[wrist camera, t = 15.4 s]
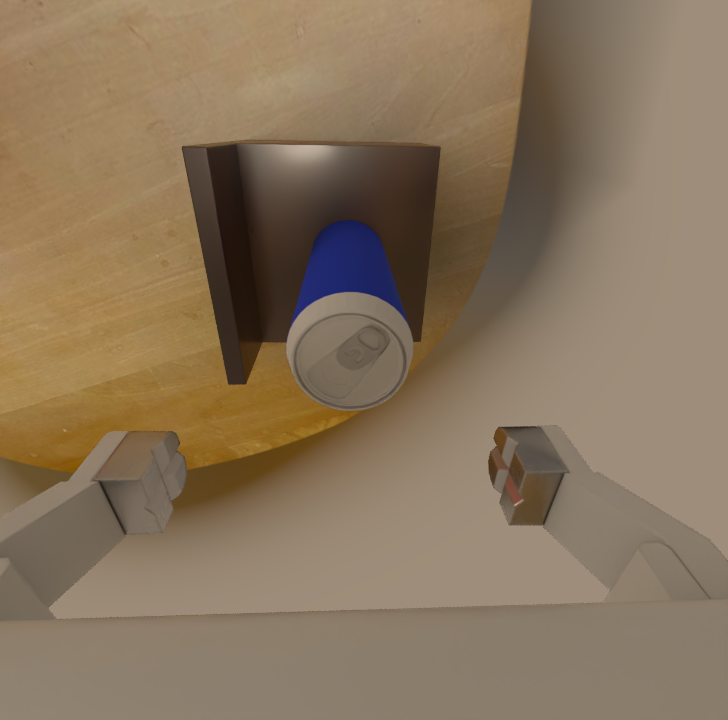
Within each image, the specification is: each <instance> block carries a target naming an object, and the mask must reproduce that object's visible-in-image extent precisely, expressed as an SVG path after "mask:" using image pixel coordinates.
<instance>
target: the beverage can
mask: <svg viewBox="0 0 728 720" xmlns="http://www.w3.org/2000/svg"><path fill="white" fill-rule="evenodd" d="M286 349H287V358H288V361H289V365H290V367H291V370H292V373H293V375H294V378H295V380H296V382H297V383H298V385H299V386H300V388H301V389H302V390H303V391H304V392H305V393H306V394H307V395H308V396H309V397H311V398H312V399H313V400H315V401H316V402H318V403H320V404H322V405H324V406H327V407H329V408H333V409H337V410H343V411H358V410H365V409H369V408H372V407H375V406H377V405H380V404H382V403H383V402H385V401H387V400H388V399H389V398H391V397H392V396H393V395H394V394H395V393H396V392H397V391H398V390H399V389H400V387H401V386H402V385H403V383H404V381H405V379H406V377H407V374H408V370H409V367H410V363H411V360H412V356H413V338H412V334H411V330H410V327H409V324H408V321H407V318H406V315H405V312H404V309H403V306H402V303H401V300H400V297H399V294H398V291H397V288H396V284H395V281H394V278H393V275H392V272H391V269H390V266H389V263H388V260H387V257H386V254H385V251H384V248H383V245H382V242H381V240H380V238H379V237H378V235H377V234H376V233H375V232H374V231H373V230H372V229H371V228H370V227H368V226H366V225H365V224H363V223H360V222H357V221H352V220H344V221H338V222H335V223H333V224H331V225H329V226H327V227H326V228H325V229H323V230H322V231H321V232H320V234H319V235H318V236H317V238H316V240H315V242H314V244H313V248H312V251H311V255H310V258H309V262H308V265H307V269H306V273H305V276H304V280H303V283H302V287H301V291H300V294H299V298H298V301H297V305H296V309H295V312H294V316H293V319H292V323H291V327H290V330H289V334H288V337H287V346H286Z"/></svg>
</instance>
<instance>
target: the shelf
mask: <svg viewBox="0 0 728 720" xmlns="http://www.w3.org/2000/svg"><path fill="white" fill-rule="evenodd" d="M440 148H441V147H440V146H434V145H428V144H422V143H394V142H337V141H281V140H240V141H230V142H219V143H210V144H200V145H190V146H182V151H183V156H184V161H185V166H186V171H187V176H188V181H189V187H190V192H191V197H192V202H193V207H194V212H195V217H196V222H197V227H198V232H199V237H200V243H201V248H202V253H203V258H204V263H205V268H206V273H207V278H208V283H209V288H210V294H211V299H212V304H213V309H214V314H215V319H216V324H217V329H218V334H219V339H220V344H221V350H222V355H223V360H224V365H225V370H226V375H227V380H228V384H229V385H236V384H246V383H247V380H248V378H249V375H250V373H251V370H252V368H253V365H254V362H255V360H256V357H257V355H258V352H259V350H260V347H261V345H262V342H287V337H288V334H289V330H290V327H291V323H292V319H293V316H294V312H295V309H296V305H297V301H298V298H299V294H300V291H301V287H302V283H303V280H304V276H305V273H306V269H307V265H308V262H309V258H310V255H311V251H312V248H313V244H314V242H315V240H316V238H317V236H318V235H319V234H320V232H321V231H322V230H323V229H325V228H326V227H327V226H329V225H331V224H333V223H335V222H338V221H344V220H352V221H357V222H360V223H363V224H365V225H366V226H368V227H370V228H371V229H372V230H373V231H374V232H375V233H376V234H377V235H378V237H379V238H380V240H381V242H382V245H383V248H384V251H385V254H386V257H387V260H388V263H389V266H390V269H391V272H392V275H393V278H394V281H395V284H396V288H397V291H398V294H399V297H400V300H401V303H402V306H403V309H404V312H405V315H406V318H407V321H408V324H409V327H410V330H411V334H412V338H413V342H420V341H421V333H422V323H423V314H424V304H425V294H426V284H427V275H428V265H429V255H430V246H431V236H432V226H433V216H434V207H435V197H436V187H437V178H438V168H439V158H440Z"/></svg>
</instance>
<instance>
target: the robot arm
mask: <svg viewBox="0 0 728 720" xmlns="http://www.w3.org/2000/svg"><path fill="white" fill-rule="evenodd" d="M494 441H495V443H496V445H497V446H496V447H495V448H494V449H493V450H492V451H491V452H490V456H489V461H488V462H489V463H488V464H489V474H490V479H491V482H492V485H493V487H494V488H495V489H496V490H497V491H498V492H500V493H501V494H502V495H501V499H500V505H501V507H502V510H503V512H504V515H505V517H506V519H507V522H508V524H509V525H544V526H543V527H544V528H545V529H546V530H547V531H548V532H549V533H550V534H551V535H552V536H553V537H554V538H555V539H556V540H557V541H558V542H559V543H560V544H561V545H563V547H565V548H566V549H567V550H568V551H569V552H570V553H571V554H572V555H573V556H574V557H575V558H576V559H577V560H578V561H579V562H580V563H582V565H584V566H585V567H586V568H587V569H588V570H589V571H590V572H591V573H592V574H593V575H594V576H595V577H596V578H597V579H598V580H599V581H600V582H601V583H603V584H604V585H605V586H606V587H607V588H608V589H609V590H610V592H609V594H608V595H607V597H606V598H605V600H604V602H603V603H572V604H571V603H570V604H540V605H539V604H538V605H505V606H472V607H441V608H440V607H439V608H408V609H376V610H341V611H308V612H276V613H245V614H244V613H243V614H210V615H176V616H143V617H109V618H78V619H77V618H76V619H56V617H55V616H54V615H53V614H52V612H51V611H50V610H49V607H50V606H51V605H52V604H53V603H54V602H55V601H56V600H57V599H58V598H60V597H61V596H62V595H63V594H64V593H65V592H66V591H67V590H68V589H69V588H70V587H72V586H73V585H74V584H75V583H76V582H77V581H78V580H79V579H80V578H81V577H82V576H84V575H85V574H86V573H87V572H88V571H89V570H90V569H91V568H92V567H93V566H94V565H96V564H97V563H98V562H99V561H100V560H101V559H102V558H103V557H104V556H105V555H106V554H108V553H109V552H110V551H111V550H112V549H113V548H114V547H115V546H116V545H117V544H118V543H119V542H121V541H122V540H123V539H124V538H125V535H132V534H153V533H163V531H164V529H165V527H166V524H167V522H168V520H169V518H170V516H171V514H172V512H173V506H172V503H171V501H172V500H173V499H175V498H176V497H177V496H178V495H180V494H181V492H182V489H183V487H184V485H185V480H186V474H187V467H186V461H185V458H184V456H183V455H182V454H181V453H179V452H178V451H177V448H178V446H179V444H180V442H179V439H178V436H177V434H176V433H175V432H172V431H111V432H109V433H107V434H105V435H104V437H103V438H102V439H101V440H100V442H99V443H98V444H97V445H96V447H95V448H94V449H93V450H92V452H91V453H90V454H89V455H88V457H87V458H86V459H85V460H84V462H83V463H82V464H81V465H80V467H79V468H78V469H77V470H76V472H75V473H74V474H73V475H72V477H71V478H70V479H69V481H68V482H60V483H58V484H56V485H55V486H53V487H51V488H49V489H48V490H46V491H44V492H43V493H41V494H39V495H37V496H36V497H34V498H32V499H31V500H29V501H27V502H25V503H24V504H22V505H20V506H19V507H17V508H15V509H13V510H12V511H10V512H8V513H7V514H5V515H3V516H1V517H0V720H728V560H727V559H726V558H725V557H724V555H722V553H721V552H720V551H719V550H718V549H717V547H716V546H715V545H714V544H713V543H712V542H711V540H710V539H708V538H706V537H705V536H703V535H701V534H700V533H698V532H696V531H695V530H693V529H691V528H690V527H688V526H686V525H685V524H683V523H681V522H680V521H678V520H677V519H675V518H673V517H672V516H670V515H668V514H667V513H665V512H663V511H662V510H660V509H659V508H657V507H655V506H653V505H652V504H650V503H649V502H647V501H645V500H644V499H642V498H640V497H639V496H637V495H635V494H634V493H632V492H630V491H629V490H627V489H625V488H624V487H622V486H620V485H619V484H617V483H616V482H614V481H612V480H610V479H609V478H607V477H606V476H604V475H602V474H601V473H593V472H592V470H591V469H590V468H589V466H588V465H587V463H586V462H585V461H584V459H583V458H582V457H581V455H580V454H579V453H578V451H577V449H576V448H575V447H574V445H573V444H572V443H571V441H570V440H569V438H568V437H567V435H566V434H565V433H564V431H563V430H562V429H561V428H560V427H558V426H557V425H552V426H551V425H549V426H537V427H536V426H529V427H528V426H526V427H525V426H523V427H498V428H497V430H496V432H495V435H494Z"/></svg>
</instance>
